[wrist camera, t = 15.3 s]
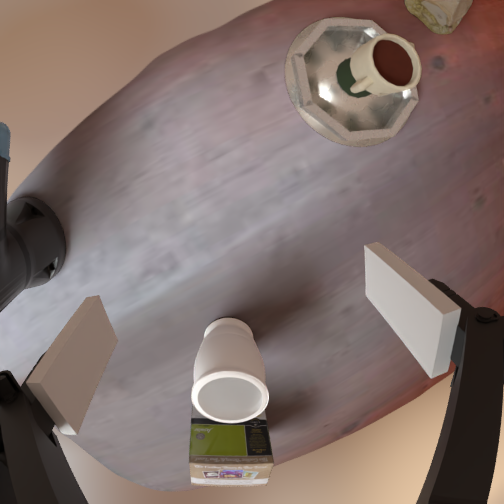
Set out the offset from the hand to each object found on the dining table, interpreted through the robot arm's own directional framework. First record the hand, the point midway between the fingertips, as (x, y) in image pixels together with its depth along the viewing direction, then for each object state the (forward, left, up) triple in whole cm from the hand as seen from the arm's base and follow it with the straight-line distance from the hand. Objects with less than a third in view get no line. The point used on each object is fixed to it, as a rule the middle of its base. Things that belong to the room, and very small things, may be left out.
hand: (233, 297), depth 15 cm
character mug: (+21, +14, -31) cm, 40 cm away
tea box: (-10, -46, -32) cm, 57 cm away
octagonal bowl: (+21, +14, -32) cm, 41 cm away
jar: (-5, -24, -32) cm, 40 cm away
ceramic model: (+41, +29, -32) cm, 60 cm away
